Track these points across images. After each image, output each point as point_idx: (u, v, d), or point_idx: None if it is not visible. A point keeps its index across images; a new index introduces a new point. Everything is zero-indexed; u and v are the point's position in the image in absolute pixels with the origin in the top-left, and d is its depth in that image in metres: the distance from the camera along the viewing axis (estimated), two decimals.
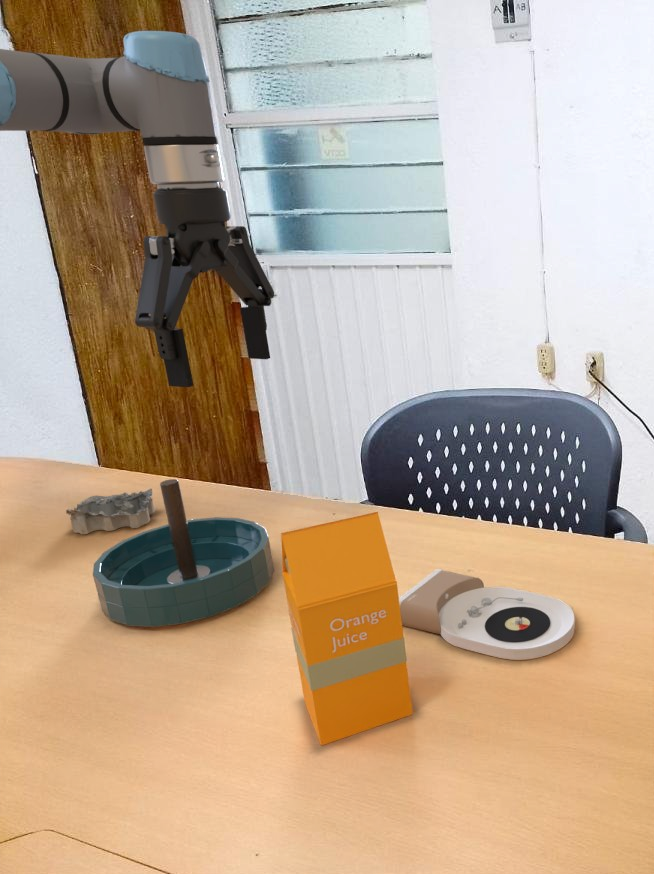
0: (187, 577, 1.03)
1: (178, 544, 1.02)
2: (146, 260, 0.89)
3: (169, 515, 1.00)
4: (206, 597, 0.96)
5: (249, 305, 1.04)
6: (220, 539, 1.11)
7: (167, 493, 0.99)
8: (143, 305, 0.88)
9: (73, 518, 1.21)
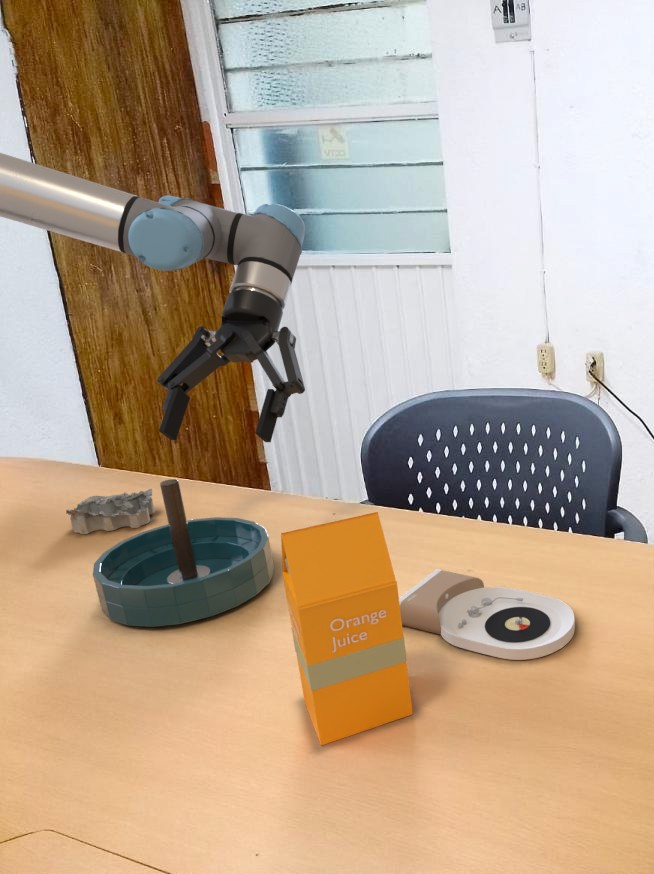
0: (187, 577, 1.03)
1: (178, 544, 1.02)
2: (287, 342, 1.13)
3: (169, 515, 1.00)
4: (206, 597, 0.96)
5: None
6: (220, 539, 1.11)
7: (167, 493, 0.99)
8: (297, 373, 1.11)
9: (73, 518, 1.21)
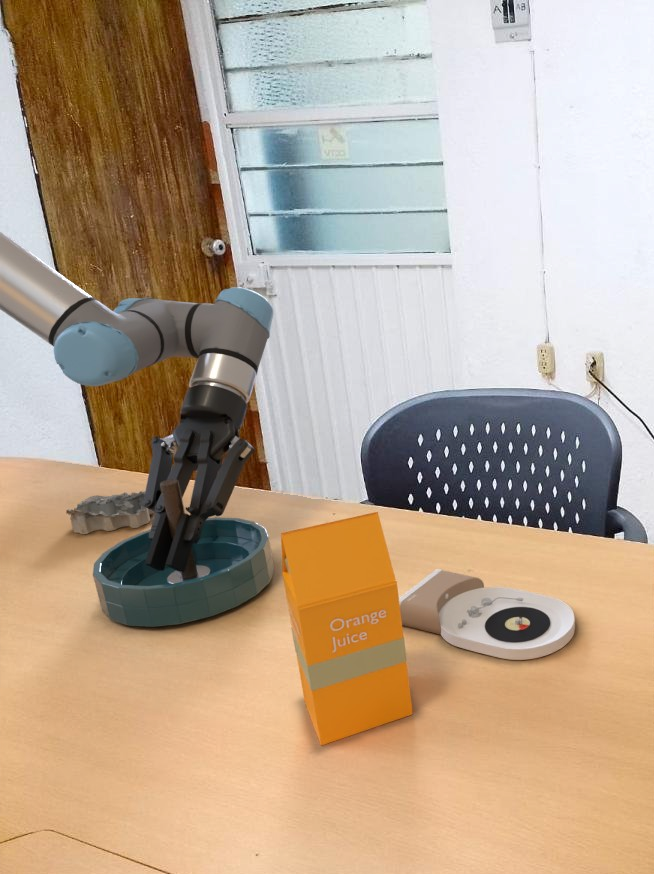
0: (187, 577, 1.03)
1: None
2: (235, 458, 1.04)
3: (169, 515, 1.00)
4: (206, 597, 0.96)
5: None
6: (220, 539, 1.11)
7: (167, 493, 0.99)
8: (221, 496, 1.02)
9: (73, 518, 1.21)
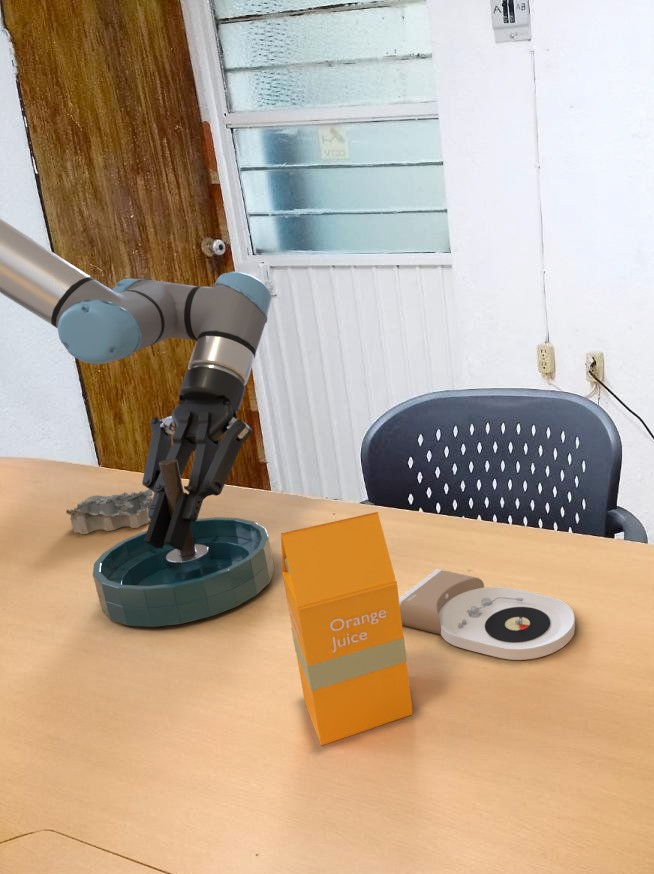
0: (186, 555, 1.05)
1: None
2: (233, 438, 1.05)
3: (168, 493, 1.02)
4: (206, 597, 0.96)
5: None
6: (220, 539, 1.11)
7: (166, 472, 1.01)
8: (219, 475, 1.04)
9: (73, 518, 1.21)
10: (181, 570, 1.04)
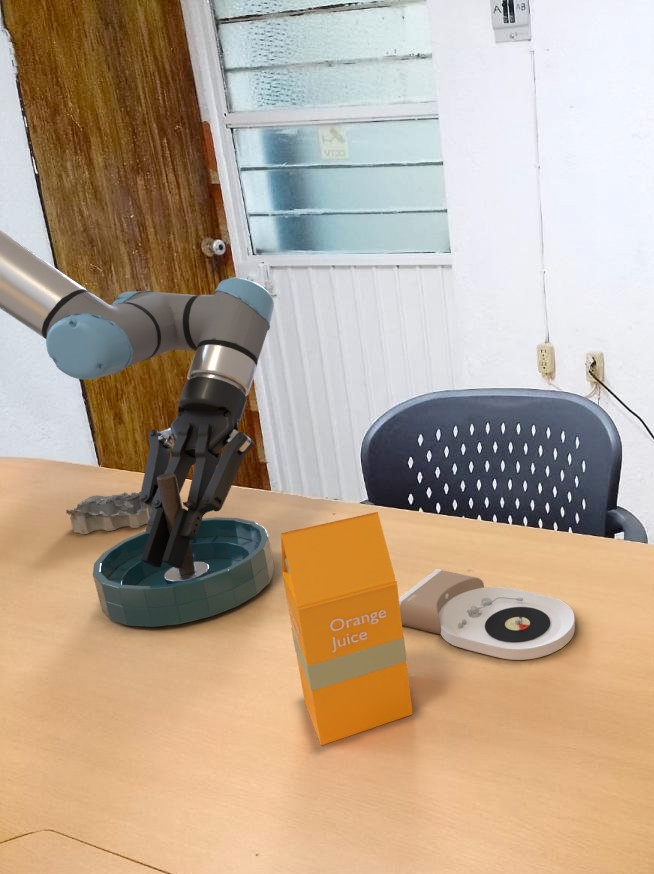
0: (185, 574, 1.01)
1: None
2: (233, 452, 1.01)
3: (166, 510, 0.98)
4: (206, 597, 0.96)
5: None
6: (220, 539, 1.11)
7: (164, 487, 0.97)
8: (220, 490, 1.00)
9: (73, 518, 1.21)
10: None
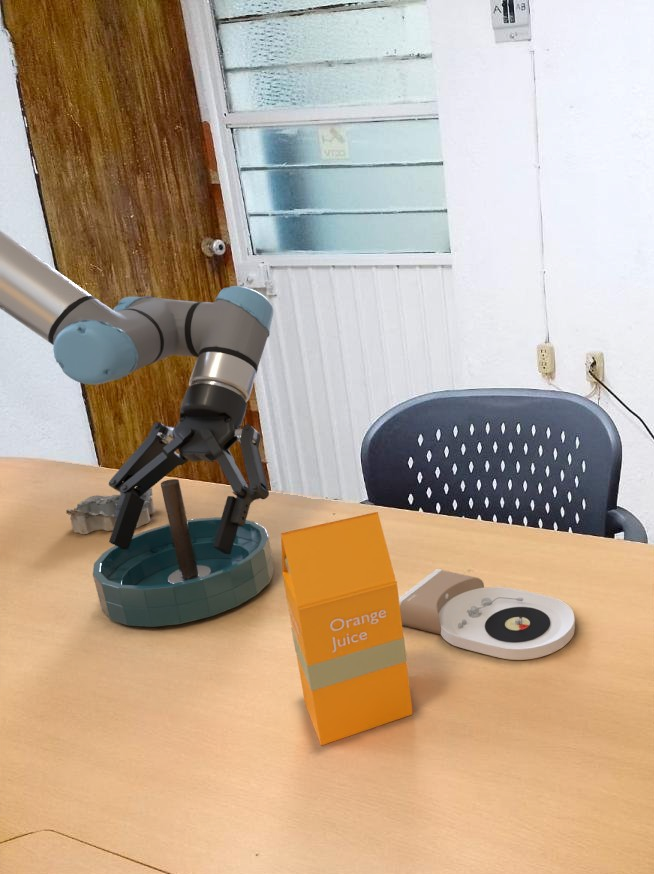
0: (188, 577, 1.03)
1: (179, 544, 1.02)
2: (250, 442, 1.04)
3: (170, 515, 1.00)
4: (206, 597, 0.96)
5: None
6: None
7: (168, 493, 0.99)
8: (260, 477, 1.03)
9: (73, 518, 1.21)
10: None
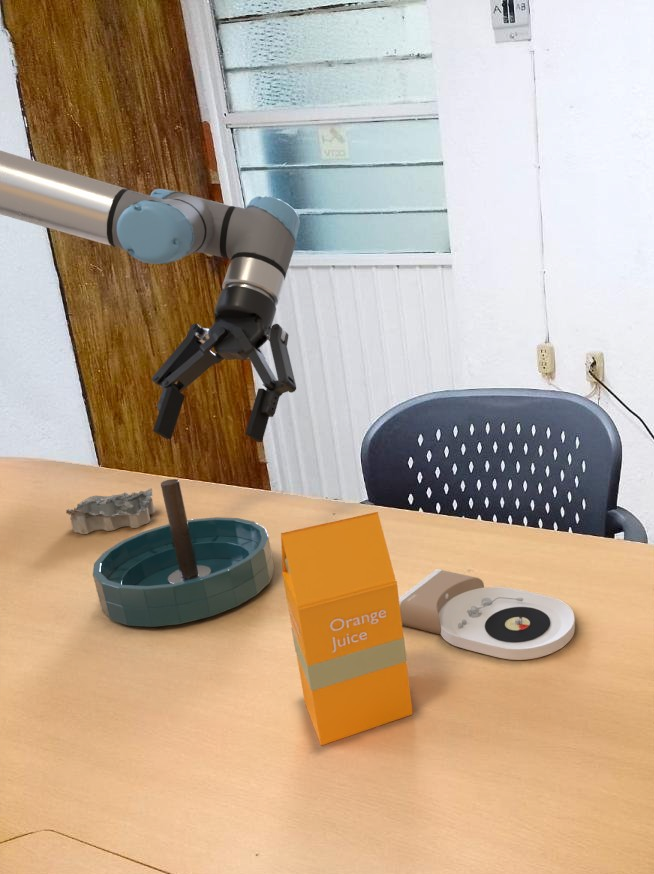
0: (188, 577, 1.03)
1: (179, 544, 1.02)
2: (278, 340, 1.12)
3: (170, 515, 1.00)
4: (206, 597, 0.96)
5: None
6: (220, 539, 1.11)
7: (168, 493, 0.99)
8: (287, 371, 1.10)
9: (73, 518, 1.21)
10: None
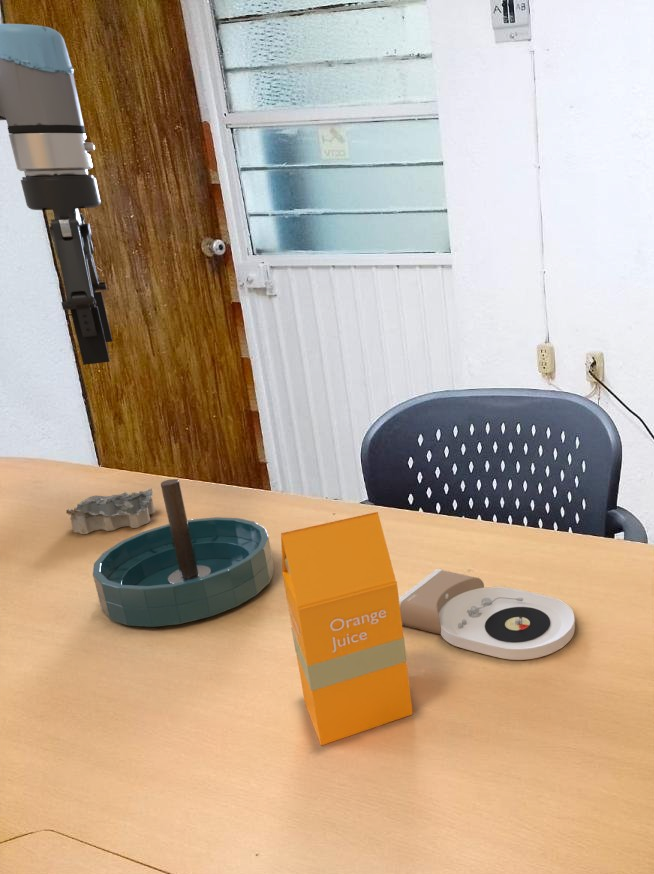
0: (188, 577, 1.03)
1: (179, 544, 1.02)
2: (58, 242, 0.93)
3: (170, 515, 1.00)
4: (206, 597, 0.96)
5: None
6: (220, 539, 1.11)
7: (168, 493, 0.99)
8: (72, 284, 0.93)
9: (73, 518, 1.21)
10: None
